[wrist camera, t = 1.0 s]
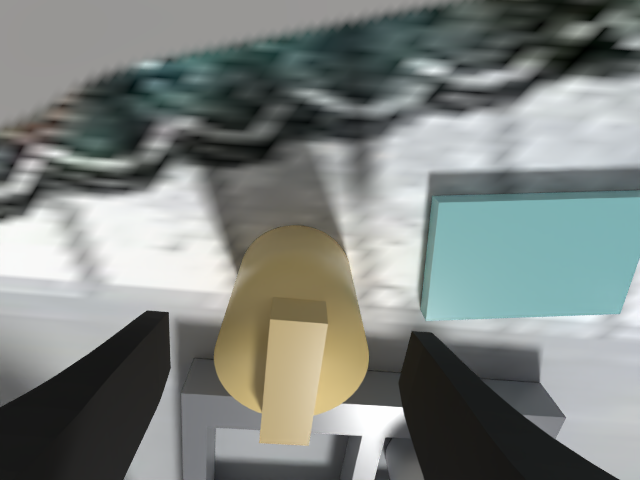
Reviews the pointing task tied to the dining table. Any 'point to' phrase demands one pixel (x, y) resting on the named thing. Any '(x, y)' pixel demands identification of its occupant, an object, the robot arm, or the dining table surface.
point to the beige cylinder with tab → (292, 332)
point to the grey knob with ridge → (402, 460)
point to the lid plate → (530, 254)
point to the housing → (331, 418)
